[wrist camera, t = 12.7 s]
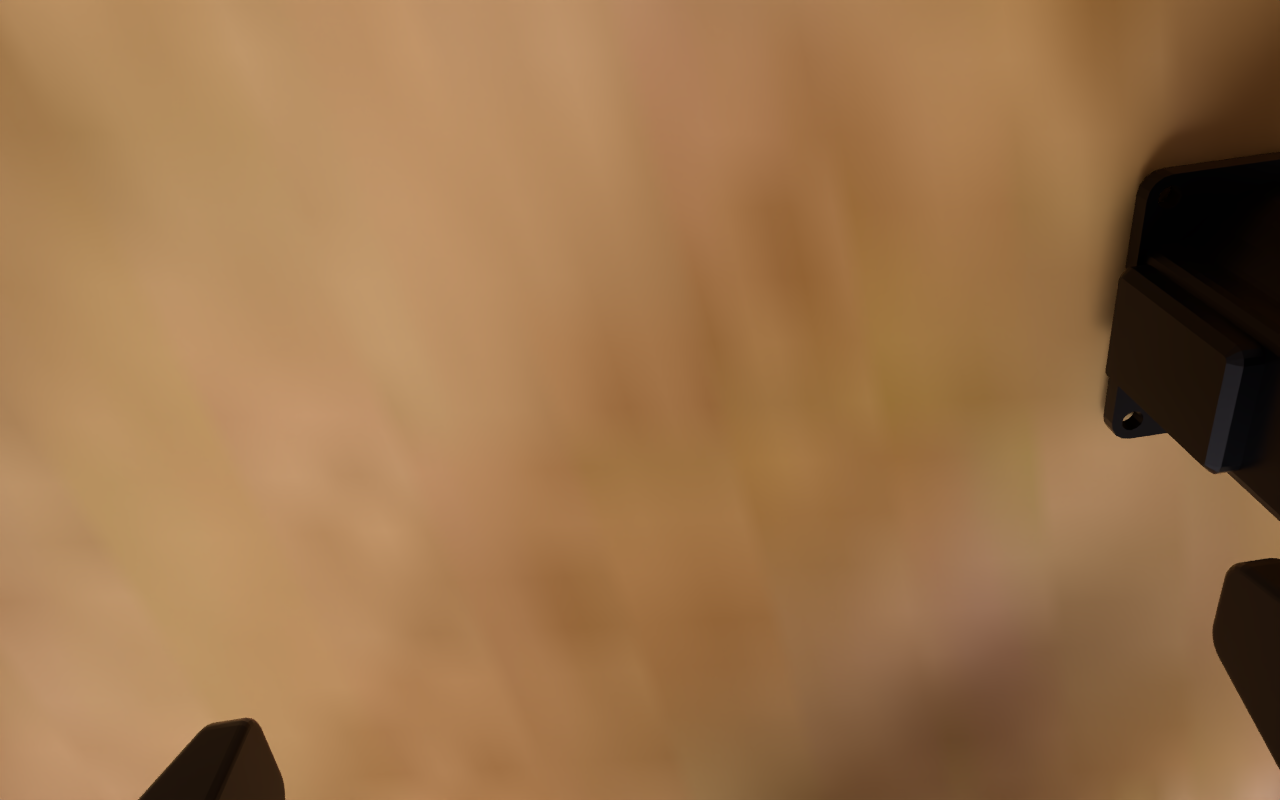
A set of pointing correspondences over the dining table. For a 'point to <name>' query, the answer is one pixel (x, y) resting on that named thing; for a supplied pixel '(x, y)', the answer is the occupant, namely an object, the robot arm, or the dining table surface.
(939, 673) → the dining table surface
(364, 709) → the dining table surface
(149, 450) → the dining table surface
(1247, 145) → the dining table surface
